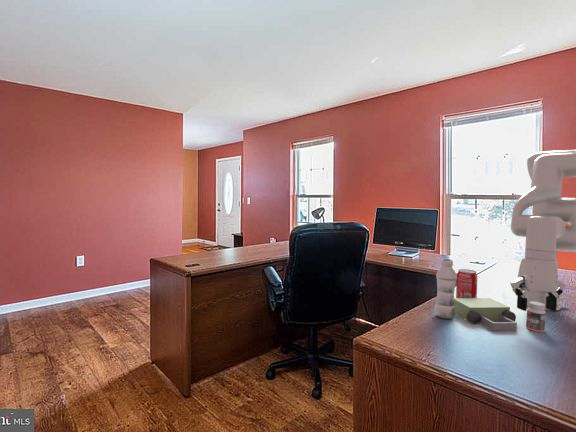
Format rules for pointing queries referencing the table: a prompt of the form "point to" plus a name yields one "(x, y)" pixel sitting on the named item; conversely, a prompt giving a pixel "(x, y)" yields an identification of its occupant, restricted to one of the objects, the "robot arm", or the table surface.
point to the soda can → (466, 284)
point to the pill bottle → (536, 316)
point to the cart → (486, 313)
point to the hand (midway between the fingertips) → (536, 309)
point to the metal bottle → (445, 290)
